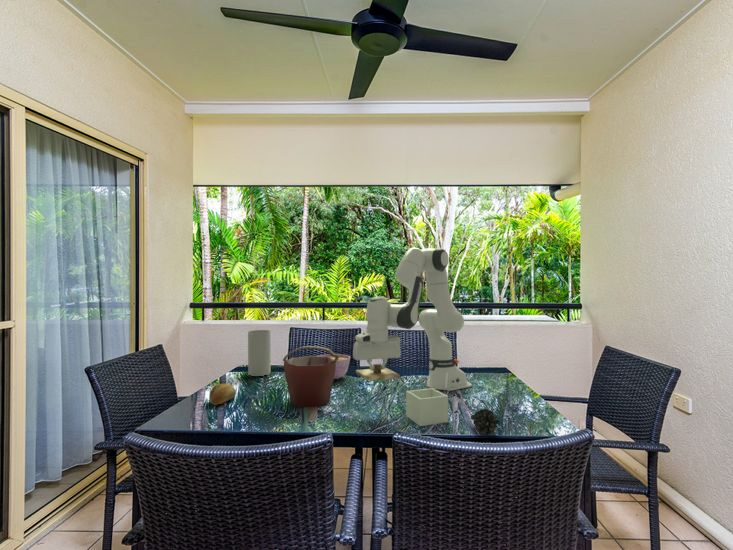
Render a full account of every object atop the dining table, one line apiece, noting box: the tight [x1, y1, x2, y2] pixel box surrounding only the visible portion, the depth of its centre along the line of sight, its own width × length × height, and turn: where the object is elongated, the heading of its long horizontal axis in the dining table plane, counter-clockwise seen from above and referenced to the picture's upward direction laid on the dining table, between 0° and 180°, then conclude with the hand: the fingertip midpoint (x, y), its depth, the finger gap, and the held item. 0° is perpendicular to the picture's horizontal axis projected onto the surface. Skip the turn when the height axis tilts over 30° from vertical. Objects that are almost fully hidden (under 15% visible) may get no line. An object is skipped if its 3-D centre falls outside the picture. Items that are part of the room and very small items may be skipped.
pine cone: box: [470, 408, 501, 435], centre depth 149 cm, size 9×8×15 cm
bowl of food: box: [318, 353, 351, 380], centre depth 227 cm, size 20×20×12 cm
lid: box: [355, 363, 401, 382], centre depth 169 cm, size 14×14×5 cm
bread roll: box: [209, 383, 237, 406], centre depth 186 cm, size 10×15×8 cm, turn 171°
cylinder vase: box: [247, 329, 272, 377], centre depth 237 cm, size 12×12×25 cm
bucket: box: [282, 345, 339, 409], centre depth 183 cm, size 24×22×25 cm
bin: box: [405, 387, 449, 427], centre depth 161 cm, size 12×12×10 cm
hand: (377, 369), depth 169 cm, fingers closed on lid, 3 cm apart
